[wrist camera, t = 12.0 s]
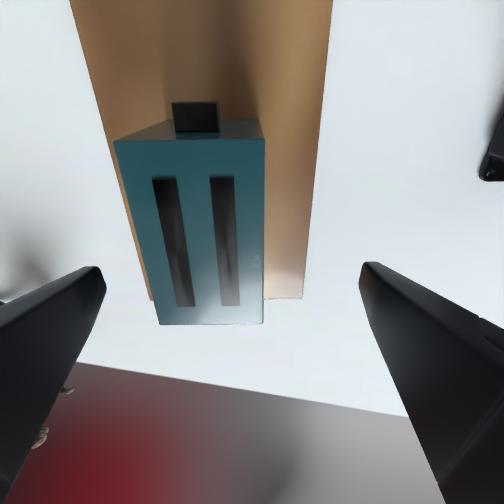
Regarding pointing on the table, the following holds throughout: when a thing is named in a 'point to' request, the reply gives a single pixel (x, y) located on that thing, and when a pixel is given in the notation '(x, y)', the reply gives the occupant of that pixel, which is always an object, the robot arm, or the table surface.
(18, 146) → the table surface
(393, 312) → the robot arm
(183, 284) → the toaster
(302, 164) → the mat
